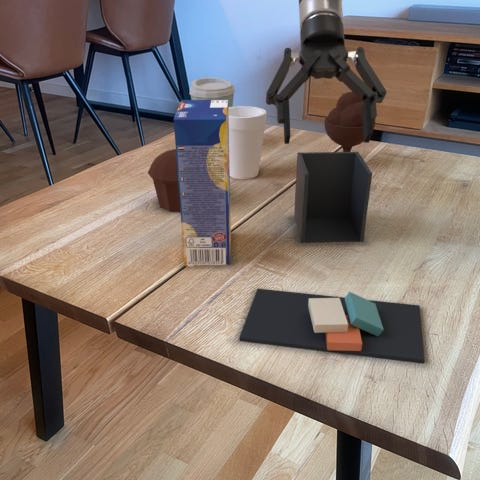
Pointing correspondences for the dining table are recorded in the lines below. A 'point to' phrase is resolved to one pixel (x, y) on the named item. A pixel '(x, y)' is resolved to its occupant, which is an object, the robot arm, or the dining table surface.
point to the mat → (302, 333)
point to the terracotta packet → (345, 339)
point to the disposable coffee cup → (212, 90)
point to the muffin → (166, 180)
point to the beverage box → (204, 180)
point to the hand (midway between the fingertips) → (327, 139)
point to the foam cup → (245, 140)
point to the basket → (331, 197)
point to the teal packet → (363, 314)
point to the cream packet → (327, 315)
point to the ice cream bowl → (346, 122)
